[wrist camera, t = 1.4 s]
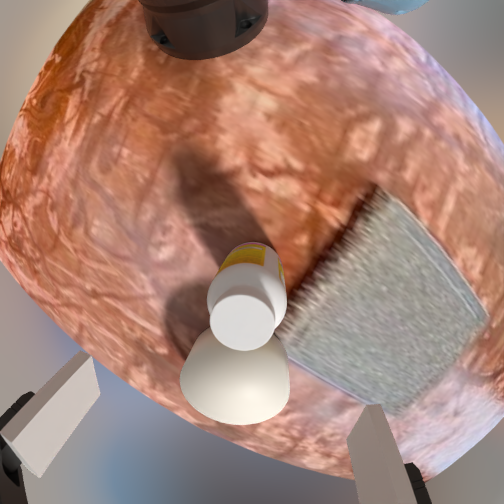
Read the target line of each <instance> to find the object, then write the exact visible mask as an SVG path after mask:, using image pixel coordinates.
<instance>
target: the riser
mask: <svg viewBox="0 0 504 504" xmlns="http://www.w3.org/2000/svg"><path fill="white" fill-rule="evenodd" d="M180 386H181V390H182V392H183V394H184V396H185V398H186V399H187V401H188V402H189V403H190V404H191V405H192V406H193V407H194V408H195V409H196V410H197V411H199V412H200V413H202V414H203V415H205V416H207V417H209V418H211V419H214V420H216V421H219V422H223V423H227V424H235V425H248V424H255V423H259V422H262V421H265V420H267V419H270V418H271V417H273V416H275V415H276V414H277V413H279V412H280V411H281V410H282V409H283V407H284V406H285V405H286V403H287V401H288V398H289V393H290V385H289V369H288V356H287V353H286V350H285V348H284V346H283V344H282V343H281V341H280V340H279V339H278V338H277V337H276V336H275V335H274V334H272V336H271V338H270V339H269V340H268V341H267V342H266V343H265V344H264V345H262V346H261V347H259V348H256V349H253V350H248V351H241V350H235V349H232V348H229V347H227V346H225V345H224V344H222V343H221V342H220V341H219V340H218V339H217V338H216V337H215V335H214V334H213V332H212V330H211V327H209V328H208V329H206V330H205V331H204V332H202V333H201V334H200V335H199V337H198V338H197V339H196V341H195V343H194V345H193V347H192V349H191V351H190V353H189V355H188V357H187V360H186V362H185V364H184V366H183V368H182V370H181V373H180Z"/></svg>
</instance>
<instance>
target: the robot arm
mask: <svg viewBox="0 0 504 504" xmlns="http://www.w3.org/2000/svg"><path fill="white" fill-rule="evenodd" d="M138 1H139V2H140V3H141V4H142V5H143V9H144V15H145V21H146V26H147V31H148V33H149V35H150V37H151V39H152V40H153V41H154V42H155V44H156V45H157V46H158V47H159V48H160V49H161V50H162V51H164V52H165V53H167V54H169V55H171V56H174V57H177V58H181V59H188V60H202V59H210V58H215V57H219V56H222V55H225V54H228V53H231V52H233V51H235V50H237V49H239V48H241V47H243V46H244V45H246V44H247V43H249V42H250V41H251V40H253V39H254V38H255V37H256V36H257V35H258V34H259V33H260V31H261V30H262V29H263V27H264V25H265V23H266V21H267V18H268V0H138ZM341 1H343V2H345V3H349V4H358V5H361V6H365V7H368V8H371V9H374V10H376V11H379V12H382V13H385V14H391V15H400V14H405V13H407V12H409V11H413V10H416V9H417V8H419V7H421V6H422V5H424V4H425V3H426V2H428V1H429V0H341ZM99 396H100V390H99V386H98V382H97V378H96V374H95V370H94V365H93V360H92V355H89V354H87V353H84V352H82V351H79V352H78V353H77V354H76V355H75V356H74V357H73V358H72V359H71V360H70V361H68V363H66V365H65V366H63V367H62V368H61V369H60V370H59V371H58V372H57V373H56V374H55V375H54V376H53V377H52V378H51V379H50V380H49V381H48V382H47V383H46V384H45V385H44V386H43V387H42V388H41V389H40V390H39V391H38V392H37V393H36V394H34V393H33V392H28V393H26V394H24V395H22V396H21V397H20V398H19V399H18V400H17V401H16V403H14V404H13V405H12V406H11V408H9V409H8V410H7V411H6V412H5V413H4V414H3V415H2V416H1V417H0V504H28V501H27V497H26V492H25V487H24V481H23V475H22V469H21V467H20V464H21V463H23V464H24V466H25V467H26V468H27V469H28V470H29V471H31V472H32V473H33V474H35V475H36V476H38V477H39V478H40V477H41V476H42V474H43V473H44V471H45V470H46V469H47V467H48V466H49V464H50V463H51V461H52V460H53V459H54V457H55V456H56V454H57V453H58V451H59V450H60V449H61V447H62V446H63V444H64V443H65V442H66V440H67V439H68V438H69V436H70V435H71V433H72V432H73V431H74V429H75V428H76V427H77V425H78V424H79V422H80V421H81V420H82V418H83V417H84V416H85V414H86V413H87V412H88V410H89V409H90V408H91V406H92V405H93V404H94V402H95V401H96V400H97V398H98V397H99ZM346 440H347V445H348V449H349V454H350V458H351V463H352V467H353V472H354V477H355V482H356V487H357V492H358V497H359V502H360V504H432V503H431V500H430V497H429V494H428V492H427V489H426V488H425V483H424V481H423V480H422V479H423V478H422V475H421V473H420V470H419V469H418V468H417V467H416V466H415V465H414V464H413V462H412V463H407V464H404V463H403V461H402V458H401V455H400V452H399V450H398V447H397V445H396V442H395V439H394V437H393V434H392V432H391V429H390V427H389V424H388V422H387V419H386V417H385V414H384V412H383V409H382V407H381V405H380V404H376V405H366V407H365V408H364V410H363V412H362V414H361V416H360V417H359V419H358V421H357V423H356V424H355V426H354V428H353V429H352V431H351V433H350V434H349V436H348V437H347V439H346Z"/></svg>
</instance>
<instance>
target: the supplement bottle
mask: <svg viewBox="0 0 504 504" xmlns="http://www.w3.org/2000/svg"><path fill="white" fill-rule="evenodd" d="M207 306H208V311H209V313H210V326H211V330H212V332H213V334H214V335H215V337H216V338H217V339H218V340H219V341H220V342H221V343H222V344H224V345H225V346H227V347H229V348H232V349H235V350H241V351H248V350H253V349H256V348H259V347H261V346H262V345H264V344H265V343H266V342H267V341H268V340H269V339H270V338H271V336H272V334H273V332H274V329H275V328H276V327H277V326H278V325H279V324H280V322H281V321H282V319H283V317H284V315H285V311H286V306H287V298H286V290H285V282H284V273H283V267H282V263H281V260H280V258H279V256H278V255H277V253H276V252H275V251H274V250H273V249H272V248H270V247H269V246H267V245H265V244H262V243H258V242H247V243H243V244H241V245H239V246H237V247H235V248H234V249H233V250H232V251H231V252H230V253H229V254H228V256H227V257H226V259H225V261H224V262H223V264H222V266H221V267H220V269H219V271H218V272H217V274H216V276H215V278H214V279H213V281H212V283H211V285H210V287H209V290H208V294H207Z"/></svg>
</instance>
